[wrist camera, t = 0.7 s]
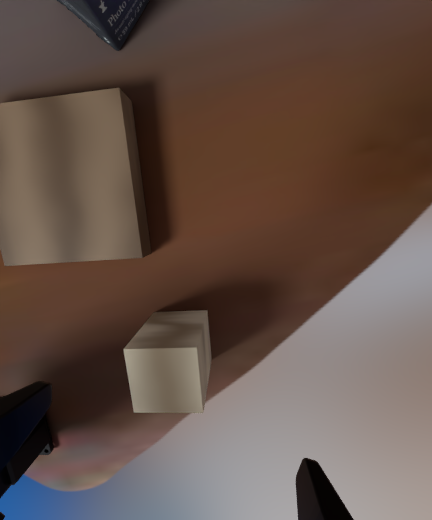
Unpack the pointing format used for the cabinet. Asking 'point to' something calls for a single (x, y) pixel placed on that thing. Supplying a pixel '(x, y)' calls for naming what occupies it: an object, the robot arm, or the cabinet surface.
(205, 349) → the maple cube
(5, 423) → the robot arm
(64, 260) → the beige flat square slab
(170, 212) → the cabinet surface
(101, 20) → the small box
